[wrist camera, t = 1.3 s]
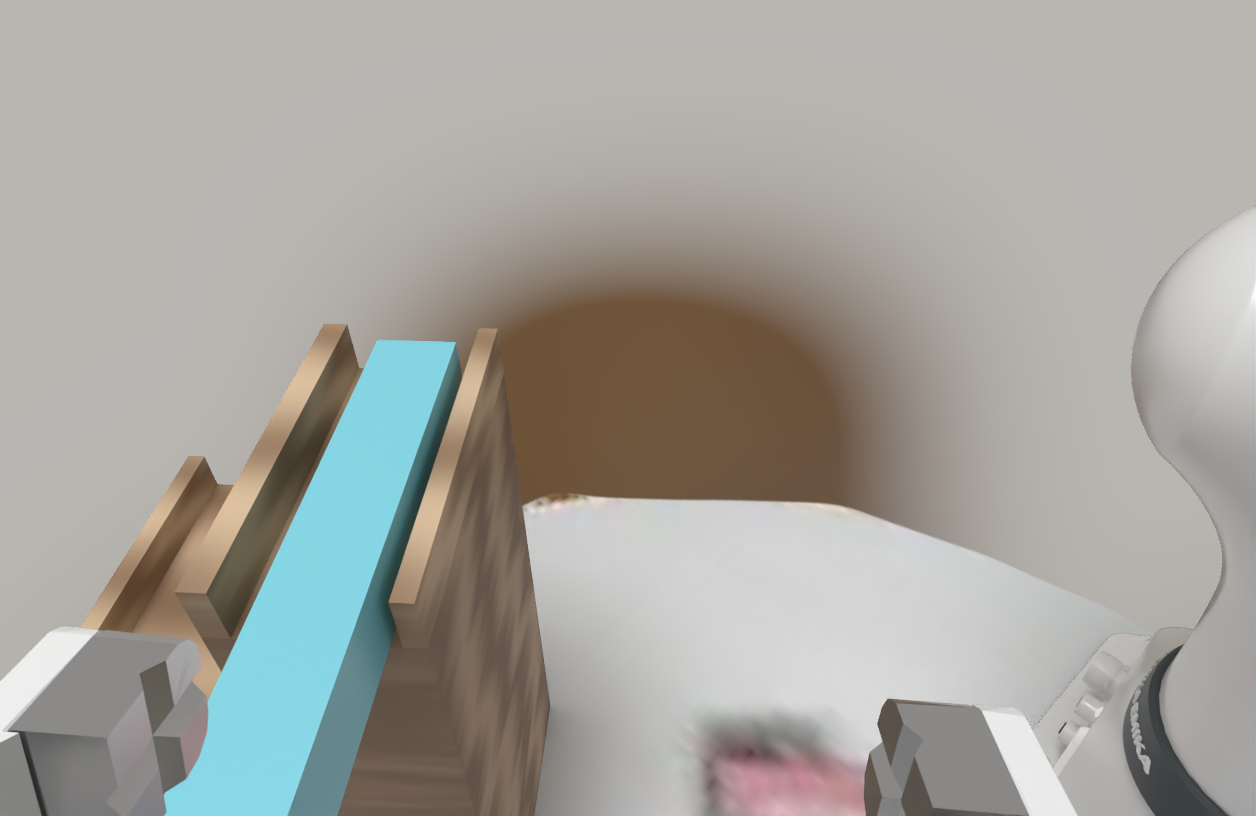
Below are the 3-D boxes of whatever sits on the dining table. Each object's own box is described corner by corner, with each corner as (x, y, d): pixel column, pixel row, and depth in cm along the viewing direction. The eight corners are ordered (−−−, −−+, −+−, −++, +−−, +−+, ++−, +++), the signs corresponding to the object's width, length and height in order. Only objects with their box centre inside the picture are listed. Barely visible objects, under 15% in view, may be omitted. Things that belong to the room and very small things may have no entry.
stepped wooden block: (303, 691, 58) (121, 317, 38) (549, 705, 57) (497, 328, 37) (214, 924, 47) (-104, 578, 27) (514, 946, 46) (414, 603, 26)
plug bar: (392, 400, 37) (377, 339, 35) (466, 402, 37) (456, 342, 35) (162, 959, 21) (109, 911, 19) (289, 968, 21) (249, 921, 19)
